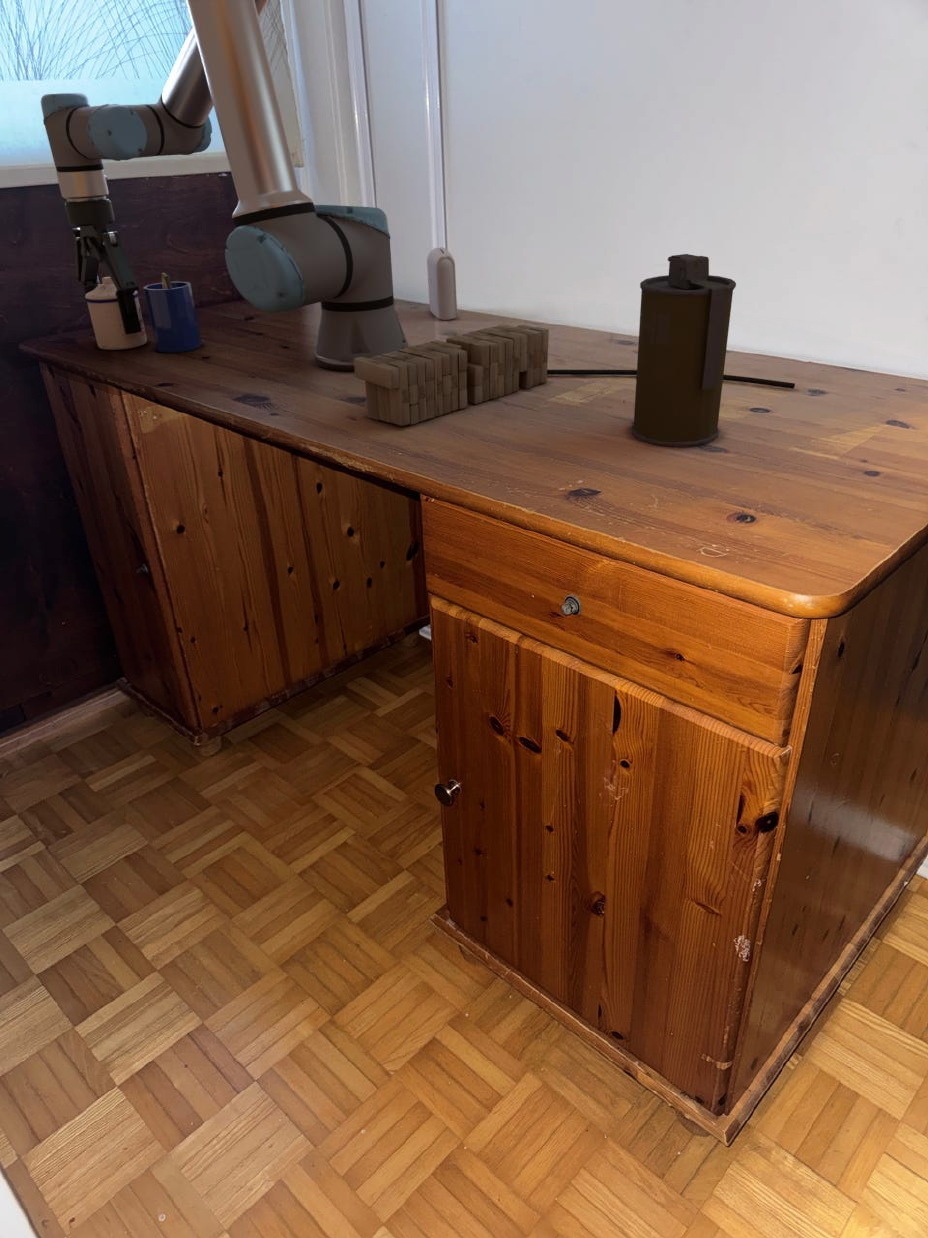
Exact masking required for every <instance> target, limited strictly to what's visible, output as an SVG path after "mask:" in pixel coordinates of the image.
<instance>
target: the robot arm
mask: <svg viewBox="0 0 928 1238" xmlns="http://www.w3.org/2000/svg"><path fill="white" fill-rule="evenodd" d="M185 2H186V6H187V9H188V14H189V17H190V20H191V24H192V25H191V27H190V29H189V32H188V33H187V36H186V39H185V41H184V43H183V45H182V47H181V50H180V52H179V54H178V56H177V59H176V60H175V63H174V64H173V67H172V69H171V72H170V73H169V77H168V79H167V81H166V83H165V84H164V87H163V90H162V92H161V94H160V96H159V98H158V100H157V102H156V103H145V104H143V103H142V104H119V103H113V104H111V103H110V104H109V103H106V104H101V105H92V106H91V103H90V100H89V98H88V96H87V95H86V94H85V93H83V92H61V93H59V92H58V93H45V94H43V95H42V96H41V97H40V100H39V101H40V102H39V103H40V107H41V111H42V117H43V120H42V122H43V125H44V128H45V132H46V135H47V140H48V144H49V148H50V152H51V155H52V159H53V164H54V166H55V170H56V171H55V173H56V177H57V183H58V185H59V189H60V190H59V191H60V194H61V197H62V198H63V199H66V201H65V203H64V209H65V213H66V218H67V220H68V224H69V225H70V226H73V227H75V228H71V234H72V239H73V249H74V250H73V251H74V266H75V268H74V270H75V280H76V281H77V282H78V283H79V282H80V284H81V286H82V287H83V290H84V293H85V295H86V294H87V293H88V292H91V291H93V290H94V289H95V288H96V287H97V286H98V285H101V281H100V279H99V278H98V277H99V268H100V267H99V265H100V263H102V265H103V266H104V268H105V270H106V272H107V274H108V277H110V278H111V279H112V281H113V283H114V285H115V287H116V289H117V290H116V293H115V295H116V296H117V299H118V304H119V308H120V312H121V317H122V321H123V326H124V330H125V334H132V333H137V332H142V331H141V327H140V322H139V318H138V313H137V308H136V304H135V299H134V295H133V293H135V291H137V292H138V291H139V289H140V288H139V284H138V282H137V279H136V277H135V274H134V272H133V270H132V267H131V265H130V263H129V259H128V257H127V255H126V252H125V250H124V248H123V245H122V242H121V237H120V234H119V232H118V231H116V230H115V231H110V230H109V228H108V225H109V224H113V223H114V222H115V220H116V219H115V218H116V217H115V213H114V209H113V204H112V200H110V199H109V198H107V197H108V196H109V194H110V193H109V188H108V183H107V182H108V181H109V177H108V176H107V175H106V174H105V169H104V164H103V160H107V161H109V160H110V161H114V162H115V161H116V162H121V161H129V160H132V159H141V158H152V157H153V158H154V157H166V156H169V157H170V156H190V155H193V154H197V153H202V152H204V151H206V150H207V149H208V148H209V147H210V145H211V142H212V133H213V126H212V121H211V119H210V114H211V111H212V110H213V108H214V112H215V115H216V119H217V123H218V127H219V131H220V135H221V138H222V142H223V146H224V149H225V154H226V158H227V161H228V166H229V169H230V172H231V177H232V180H233V185H234V188H235V192H236V195H237V199H238V201H237V206H236V207H235V209H234V211H233V213H232V215H231V219H232V223H233V227H234V229H233V230H232V232H230V234H229V235H228V237H227V239H226V242H225V246H226V248H225V251H224V256H225V263H226V268H227V271H228V274H229V276H230V280H231V281H232V283H233V285H234V286H235V289H236V290H237V291H238V293H239V294H240V295H241V296H242V297H243V299H245V300H246V301H248V302H249V303H250V304H251V305H252V306H253V307H254V308H255V309H257V310H260V311H262V312H266V313H276V312H284V311H285V312H289V311H295V310H297V309H299V308H302V307H307V306H310V305H314V304H318V303H320V308H321V316H320V323H319V326H318V333H317V339H316V345H315V346H314V347H315V349H314V356H315V362H316V365H318V366H320V367H321V368H323V369H329V370H334V371H349V372H350V371H351V372H352V371H354V372H355V366H354V359H355V358H357V357H365V358H372V357H373V356H378V355H380V356H381V354H385V353H390V352H394V351H398V350H399V349H404V348H406V347H409V344H408V343H409V342H408V340H407V338H406V336H405V333H404V330H403V327H402V324H401V322H400V320H399V317H398V314H397V312H396V307H395V297H394V281H393V269H392V267H393V265H392V252H391V234H390V231H389V224H388V217H387V214H386V213H385V211H384V210H382V209H381V208H380V207H373V206H359V205H356V206H355V205H338V204H337V205H336V204H335V205H334V204H333V205H332V204H314V200H313V199H312V198H311V197H309V196H308V195H307V194H305V192H302V190H301V189H300V187H299V183H298V179H297V175H296V170H295V166H294V162H293V158H292V153H291V150H290V149H291V148H290V145H289V141H288V137H287V133H286V128H285V124H284V120H283V116H282V111H281V106H280V102H279V98H278V95H277V89H276V86H275V81H274V78H273V73H272V70H271V69H272V68H271V65H270V60H269V56H268V52H267V48H266V43H265V40H264V39H265V38H264V36H263V35H264V34H263V31H262V26H261V22H260V17H261V15H262V13H263V12H264V10H265V8H266V6H267V4H268V2H269V0H185ZM547 376H637V369H547ZM723 381H729V382H736V383H737V382H738V383H747V384H755V385H762V386H770V387H778V388H783V389H784V388H785V389H791V390H795V387H796V382H787V381H780V380H774V379H765V378H759V377H750V376H741V375H733V374H732V375H731V374H724V375H723Z"/></svg>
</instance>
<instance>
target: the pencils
mask: <svg viewBox="0 0 928 1238" xmlns="http://www.w3.org/2000/svg"><path fill="white" fill-rule="evenodd" d="M171 282H172V281H171V279H170V277H169V275H167V273H165V272H162V273H161V283H162V286H163V289H171V288H172V285H171Z"/></svg>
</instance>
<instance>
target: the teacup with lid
mask: <svg viewBox="0 0 928 1238" xmlns="http://www.w3.org/2000/svg"><path fill="white" fill-rule="evenodd" d="M101 282H102V283H100V284H97V285H98V286H97V287H96V288H95V289H94V290H93V291H91V292H88V293H87V294H85V295H84V301H85V302H87V307H88V308H87V309H88V311H89V312H88V313H89V315H90V319H91V325H92V328H93V332H94V336H95V340H96V345H97V347H98V348H99V349H101V350H104V351H122V350H129V349H134V348H139V347H141V346H144V345H145V344H147V342H148V338H147V333H146V328H145V324H144V320H143V315H142V310H141V305H140V302H139V296H140V294H139V292H138V291H135V293H133V295H134V299H135V304H136V308H137V313H138V318H139V322H140V327H141V331H142V332H137V333H132V334H125V330H124V326H123V321H122V317H121V312H120V308H119V304H118V299H117V296H116V295H115V293H116V290H117V289H116V287H115V285H114V283H113V281H112V279H111V278H110V276H105V277H102V278H101Z"/></svg>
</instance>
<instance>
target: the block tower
mask: <svg viewBox="0 0 928 1238" xmlns="http://www.w3.org/2000/svg"><path fill="white" fill-rule="evenodd" d="M549 338H550V330H549V328H545V327H539V326H532V325H527V324H520V325H517V326H514V325H511V324H505V323H501V324H498V325H495V326H491V327H485V328H481V329H477V330H474V331H470V332H468V333H463V334H457V335H454V336H450V337H446V340H445V341H442V340H438V339H437V340H431V341H429V342H424V343H422V344H416V345H408V347H406V348H404V349H399V350H398V351H394V352H390V353H385V354H381V356H380V355H378V356H373V357H372V358H365V357H357V358H355V359H354V366H355V371H354V377H355V378H356V379H359V380H362V381H364V385H365V387H364V388H365V399H366V413H367V415H366V416H367V418H370V419H372V420H376V421H383V422H386V423H391V424H394V425H397V426H403V427H404V426H407V425H416V424H419V423H421V422H424V421H427V420H430V419H434V418H436V417H441V416H443V415H447V414H450V413H451V412H454V411H457V410H462V409H466V408H467V407H468V403H471V404H473V405H474V404H475V405H477V404H480V403H483V402H486V401H489V400H493V399H496V398H501V397H504V396H507V395H510V394H512V393H514V392H518V391H520V390H519V389H520V388H521V389H530V388H532V387H534V386H538V385H543V384H546V383H547V382H548V375H547V370H548V363H549V360H548V359H549Z"/></svg>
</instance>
